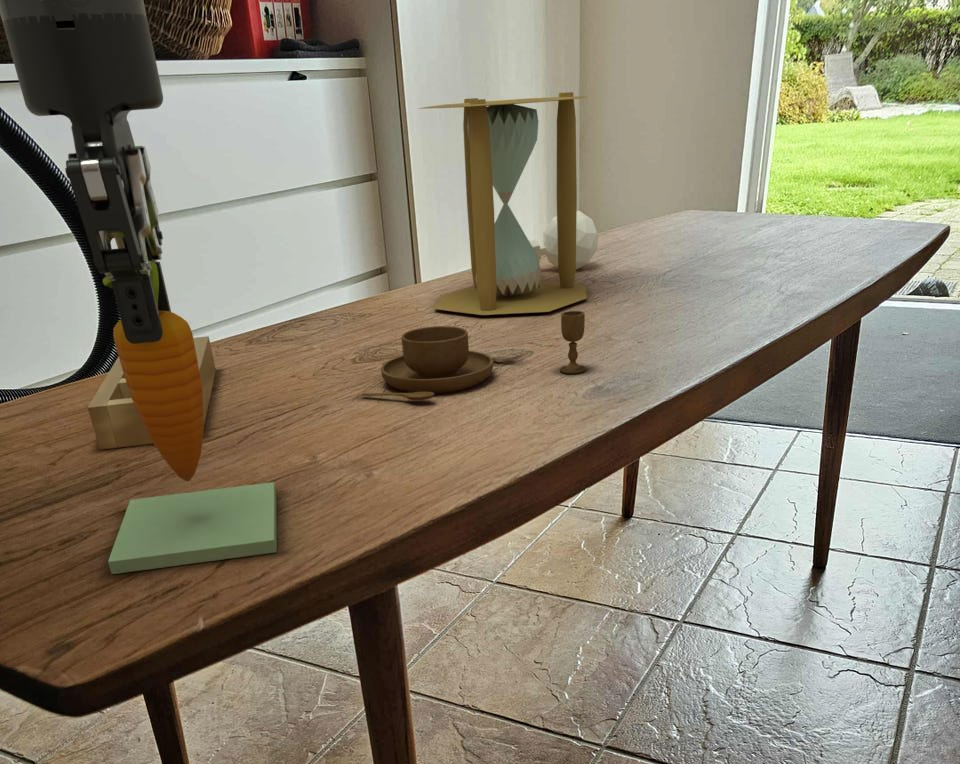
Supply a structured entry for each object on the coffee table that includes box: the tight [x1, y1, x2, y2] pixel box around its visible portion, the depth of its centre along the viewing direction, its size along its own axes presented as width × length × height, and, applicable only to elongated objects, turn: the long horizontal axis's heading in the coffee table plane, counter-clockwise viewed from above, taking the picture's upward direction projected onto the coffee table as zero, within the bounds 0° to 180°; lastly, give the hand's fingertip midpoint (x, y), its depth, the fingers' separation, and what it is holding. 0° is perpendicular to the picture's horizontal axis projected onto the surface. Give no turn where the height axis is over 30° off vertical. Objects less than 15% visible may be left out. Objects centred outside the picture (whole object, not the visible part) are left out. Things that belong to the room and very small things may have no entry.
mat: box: [107, 481, 278, 575], centre depth 65 cm, size 11×11×1 cm
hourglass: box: [417, 91, 588, 316], centre depth 122 cm, size 24×22×25 cm
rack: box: [87, 335, 217, 451], centre depth 92 cm, size 9×24×4 cm, turn 11°
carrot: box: [102, 261, 205, 482], centre depth 60 cm, size 5×5×15 cm
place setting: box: [360, 310, 587, 401], centre depth 93 cm, size 18×20×6 cm
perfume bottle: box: [529, 210, 599, 271], centre depth 145 cm, size 9×9×12 cm
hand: (150, 330), depth 58 cm, fingers closed on carrot, 5 cm apart
